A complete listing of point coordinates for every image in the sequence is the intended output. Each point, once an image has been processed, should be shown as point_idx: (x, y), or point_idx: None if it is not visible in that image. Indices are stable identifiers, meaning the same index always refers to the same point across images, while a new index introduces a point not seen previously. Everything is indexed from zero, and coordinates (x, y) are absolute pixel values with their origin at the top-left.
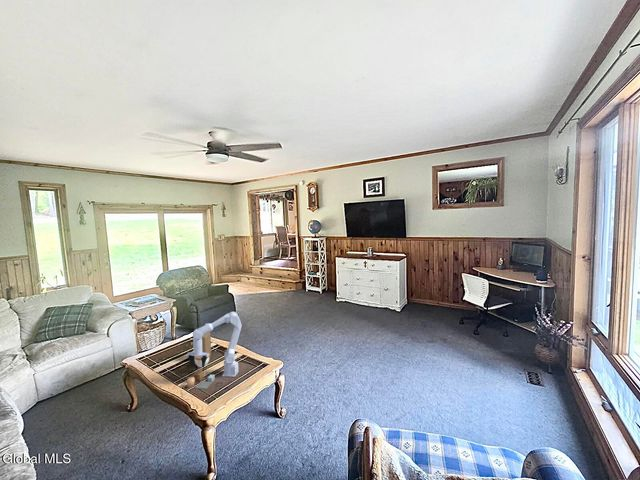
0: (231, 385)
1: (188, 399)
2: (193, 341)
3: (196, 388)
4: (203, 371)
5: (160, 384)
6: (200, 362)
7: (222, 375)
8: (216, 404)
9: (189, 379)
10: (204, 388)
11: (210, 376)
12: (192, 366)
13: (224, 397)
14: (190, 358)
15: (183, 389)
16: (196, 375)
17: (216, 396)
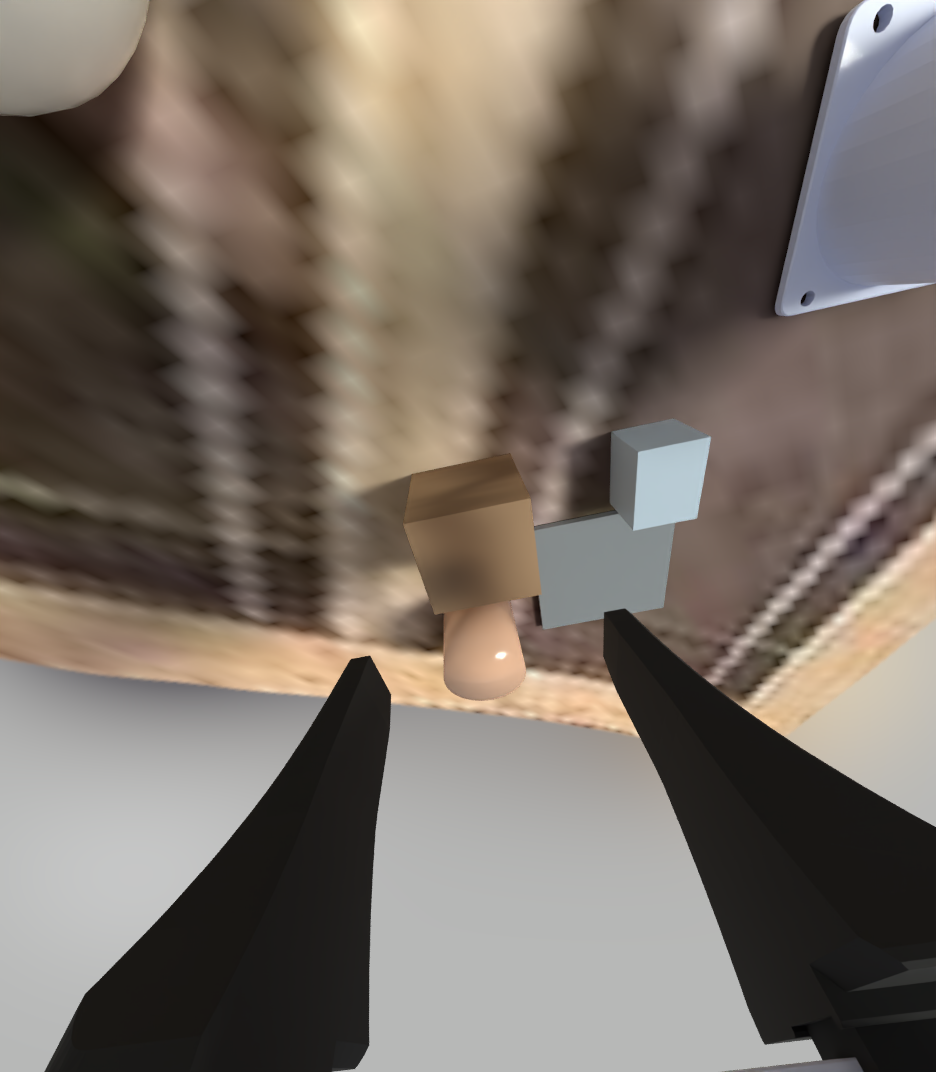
0: (931, 480)
1: (581, 711)
2: None
3: (559, 622)
4: (530, 500)
5: (173, 670)
6: (45, 65)
7: (793, 311)
8: (805, 693)
9: (481, 688)
10: (642, 610)
11: (661, 494)
12: (390, 701)
13: (858, 634)
14: (364, 1051)
15: None
16: (488, 598)
17: (787, 643)
